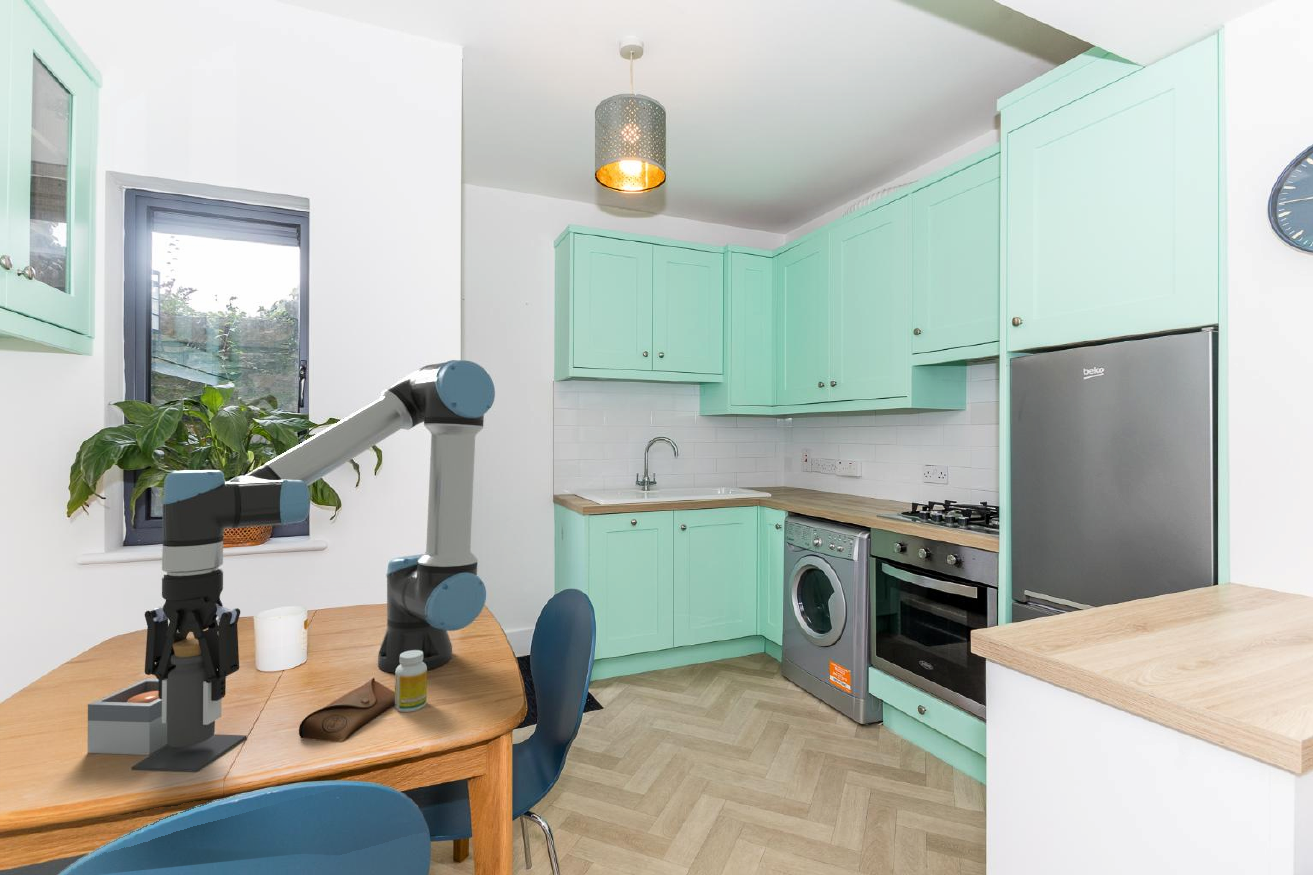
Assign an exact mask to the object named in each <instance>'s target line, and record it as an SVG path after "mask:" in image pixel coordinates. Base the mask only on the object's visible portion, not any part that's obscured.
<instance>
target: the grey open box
mask: <svg viewBox="0 0 1313 875" xmlns="http://www.w3.org/2000/svg"><path fill="white" fill-rule="evenodd" d="M158 690H159V689H158V679H157V678H144V679H141V680H139V681H138V682H135V683H133V684H130V685H129V686H126V687H124V688H122V689H119V690H117V691H114V692H113V693H110V694H108V695H106V696H104V697H102V698H101V697H100V698H99V699H97V700H94V701H92V702H90V703H88V704H87V754H106V755H107V754H109V755H110V754H112V755H133V756H134V755H138V756H139V755H140V756H142V755H143V756H151V755H152V754H154V753H156V752H157V751H159V750H161V749H163V748H164V747H166V746H168V743H167V723H162V699H157V700H155V701H153V702H151V703H127V701H128V699H130V698H131V697H134V696H136V695H139V694H142V693H146V692H151V691H158Z"/></svg>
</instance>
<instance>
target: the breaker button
mask: <svg viewBox="0 0 1313 875" xmlns="http://www.w3.org/2000/svg"><path fill="white" fill-rule="evenodd" d="M157 699H159V696H158V691H151V692H146V693H142V694H139V695H136V696H134V697H131V698H130V699H128V701H127V703H151V702H153V701H155V700H157Z"/></svg>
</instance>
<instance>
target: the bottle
mask: <svg viewBox="0 0 1313 875" xmlns="http://www.w3.org/2000/svg"><path fill="white" fill-rule="evenodd" d="M173 649H174V652H175V654H174V655H172V656H171V663H172V664H175V665H176V668H175V669H173V670H172V671H171V672H170V673H169V674H168V698H167V743H168V744H167V746H168V745H169V746H171V747H186V746H191V745H195V744H198V743H201V742H203V741H206V740H207V739H209V738H211V737H212V736H213V735H214V734H215V730H216V729H215V727H216V720H215V721H213V722H211V723H210V724H208V725H203V682H204V681H205V680H206V679H208V678H209V677H208V674H207V670H206V667H205V663H204V660H203V656H202V653H201V649H200V645H199V642H198V640H197V639H195V638H194V636H193V637H189V638H188V637H187V638H186V639H183V640H181V641H178V642H176V643H174V644H173Z"/></svg>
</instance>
